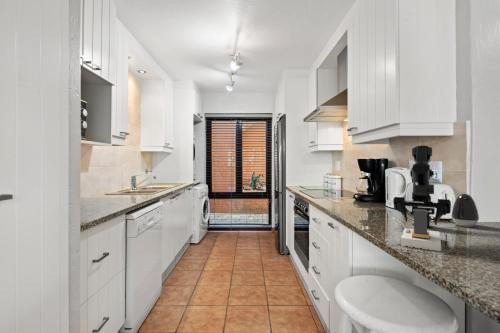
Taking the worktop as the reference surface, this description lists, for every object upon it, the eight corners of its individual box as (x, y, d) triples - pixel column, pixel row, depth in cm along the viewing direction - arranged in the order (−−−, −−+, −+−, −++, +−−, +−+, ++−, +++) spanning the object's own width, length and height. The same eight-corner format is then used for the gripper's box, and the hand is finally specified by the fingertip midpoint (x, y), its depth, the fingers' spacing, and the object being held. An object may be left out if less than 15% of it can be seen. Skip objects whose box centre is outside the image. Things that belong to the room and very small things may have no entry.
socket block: (404, 235, 114) (404, 226, 114) (439, 239, 107) (439, 230, 107) (401, 245, 100) (401, 236, 100) (441, 251, 93) (440, 240, 93)
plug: (412, 242, 104) (412, 208, 104) (429, 244, 101) (428, 209, 101) (412, 245, 100) (411, 210, 100) (429, 247, 97) (428, 211, 97)
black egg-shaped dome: (455, 227, 126) (455, 194, 126) (448, 222, 135) (448, 192, 135) (483, 228, 122) (482, 195, 122) (473, 224, 132) (473, 192, 132)
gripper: (393, 177, 110) (390, 207, 101) (450, 177, 100) (452, 212, 91) (395, 194, 117) (393, 224, 108) (449, 196, 107) (451, 230, 98)
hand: (420, 222), depth 101 cm, fingers open, 9 cm apart
